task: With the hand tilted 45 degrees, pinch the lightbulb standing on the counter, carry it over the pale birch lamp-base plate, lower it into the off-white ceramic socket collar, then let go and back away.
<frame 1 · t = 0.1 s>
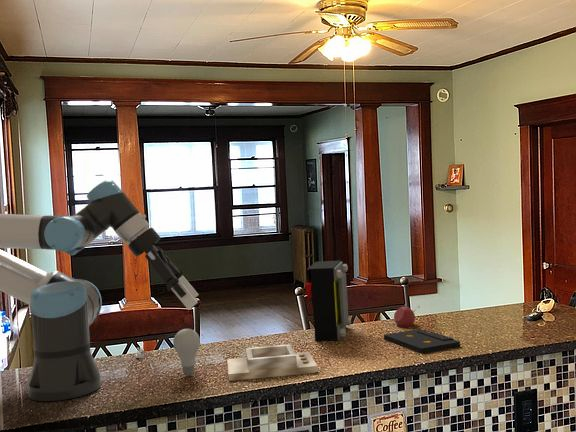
hand: (193, 302, 150), 15 cm above the kitchen counter, tool tilted 35°, fingers open, 13 cm apart
lightbulb: (189, 377, 139), on the kitchen counter
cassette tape: (420, 345, 157), on the kitchen counter
electrical component: (330, 334, 173), on the kitchen counter
fruit: (408, 325, 179), on the kitchen counter
socket plate: (271, 368, 141), on the kitchen counter
power adapter: (135, 360, 159), on the kitchen counter
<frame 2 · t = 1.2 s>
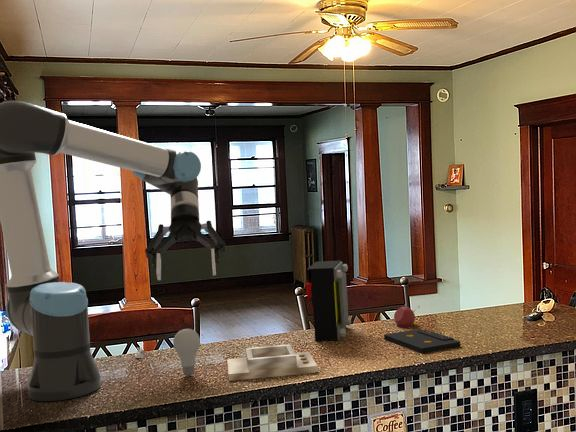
hand: (186, 274, 149), 22 cm above the kitchen counter, tool tilted 45°, fingers open, 13 cm apart
nothing on the kitchen counter moved.
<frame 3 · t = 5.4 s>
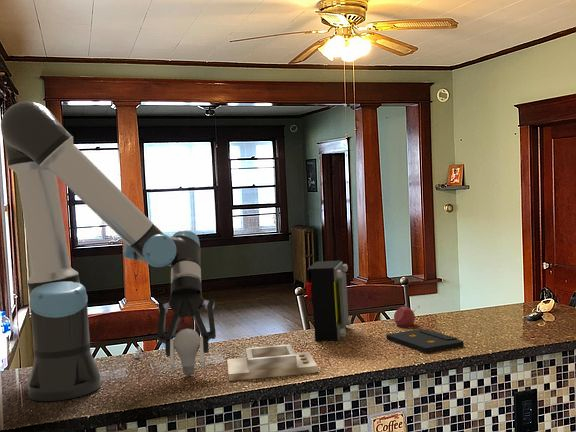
hand: (187, 365, 135), 3 cm above the kitchen counter, tool tilted 45°, fingers closed on lightbulb, 6 cm apart
lightbulb: (189, 377, 139), on the kitchen counter, touching gripper
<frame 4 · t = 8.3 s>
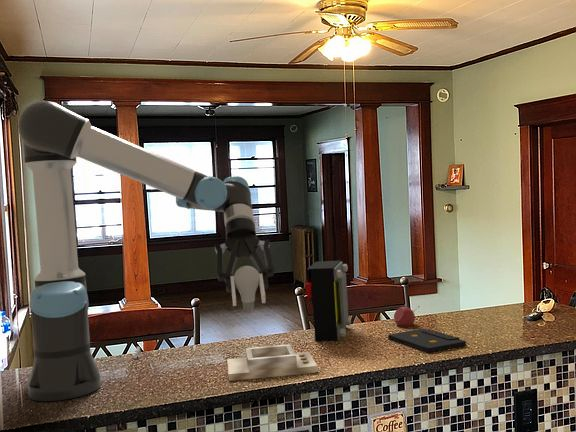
hand: (249, 301, 137), 17 cm above the kitchen counter, tool tilted 45°, fingers closed on lightbulb, 6 cm apart
lightbulb: (249, 313, 141), point 13 cm above the kitchen counter, touching gripper
when the fingers open (6 cm above the kitchen counter, at t = 11.3 s): lightbulb stays where it is, resting on socket plate.
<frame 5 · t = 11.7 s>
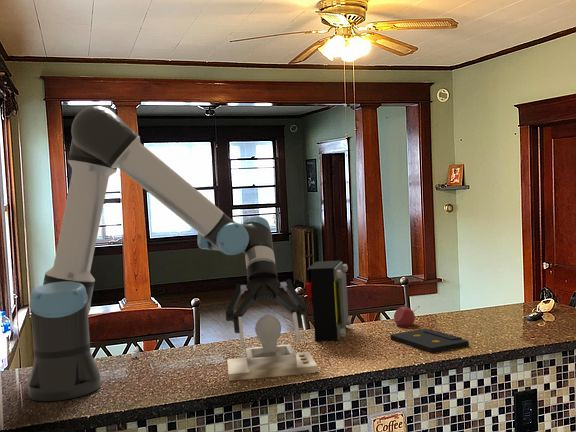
hand: (270, 341, 138), 7 cm above the kitchen counter, tool tilted 45°, fingers open, 12 cm apart
lightbulb: (271, 363, 141), point 1 cm above the kitchen counter, touching socket plate
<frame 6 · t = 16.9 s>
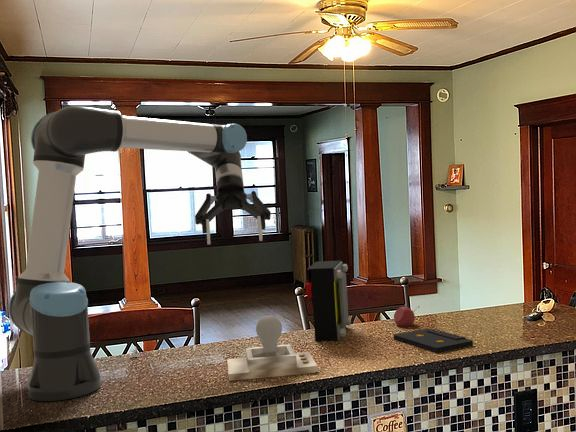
hand: (235, 239, 157), 30 cm above the kitchen counter, tool tilted 45°, fingers open, 13 cm apart
at the end: lightbulb 0.1 cm off-centre on the socket plate, point 1.3 cm above the socket plate's base; lightbulb tilted 0°; the gripper is holding nothing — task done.
